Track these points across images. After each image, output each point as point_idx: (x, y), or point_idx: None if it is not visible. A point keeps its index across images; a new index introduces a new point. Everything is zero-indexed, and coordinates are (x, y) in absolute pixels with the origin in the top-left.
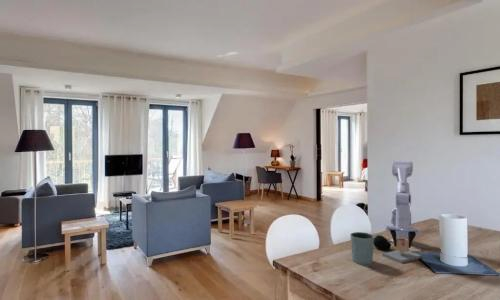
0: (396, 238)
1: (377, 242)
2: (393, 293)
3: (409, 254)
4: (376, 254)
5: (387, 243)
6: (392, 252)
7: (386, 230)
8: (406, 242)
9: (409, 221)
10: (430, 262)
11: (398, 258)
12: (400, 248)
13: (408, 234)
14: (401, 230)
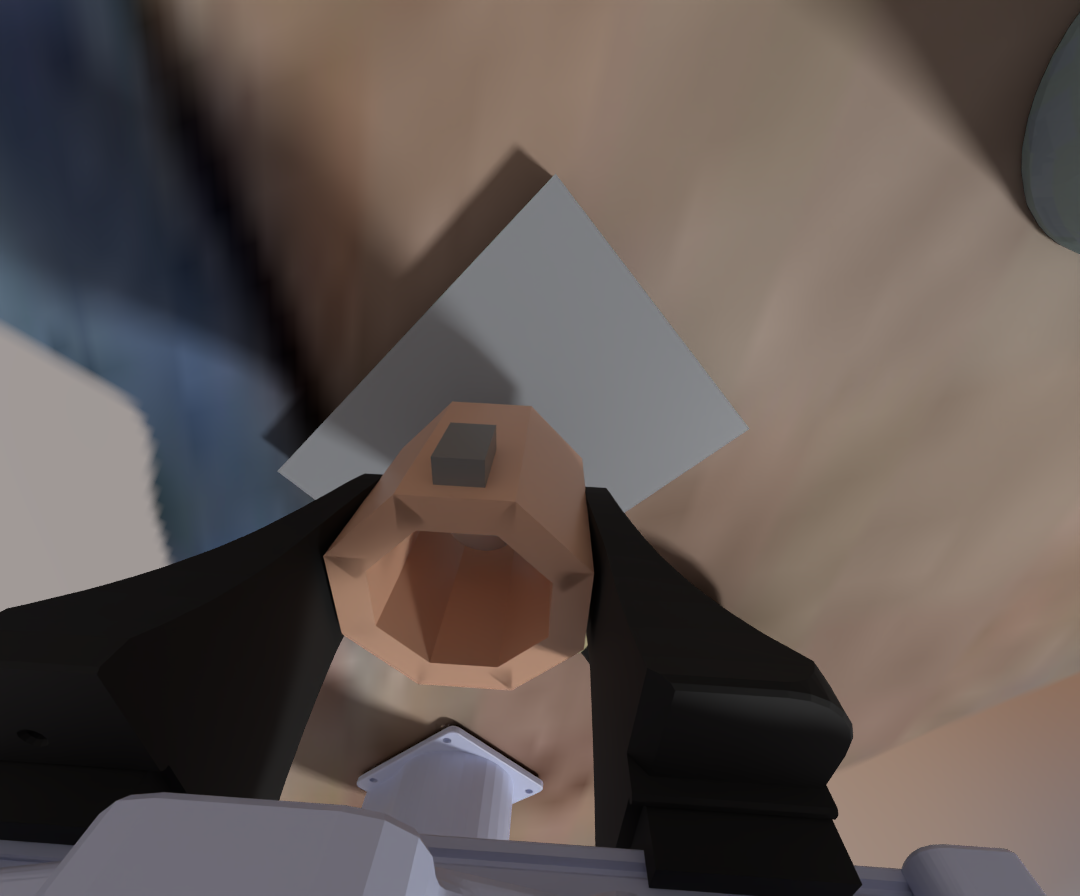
0: (570, 642)
1: None
2: None
3: None
4: (799, 449)
5: None
6: (607, 489)
7: (1005, 854)
8: (387, 491)
9: None
10: (188, 331)
11: (581, 270)
12: (527, 424)
13: (281, 755)
14: (414, 854)
